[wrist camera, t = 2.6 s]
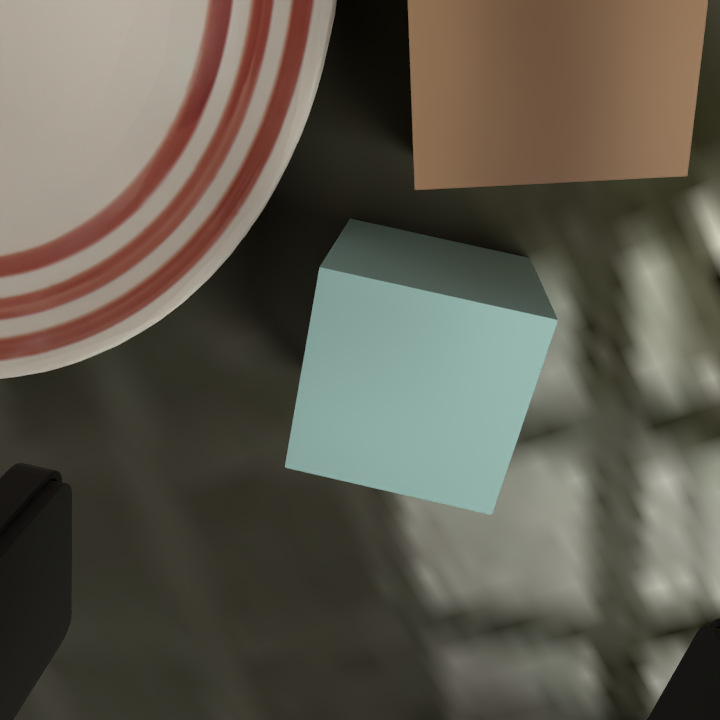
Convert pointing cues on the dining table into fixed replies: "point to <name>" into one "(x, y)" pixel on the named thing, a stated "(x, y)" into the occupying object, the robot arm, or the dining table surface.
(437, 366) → the teal cube
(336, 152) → the dining table surface
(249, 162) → the dinner plate
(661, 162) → the walnut cube
